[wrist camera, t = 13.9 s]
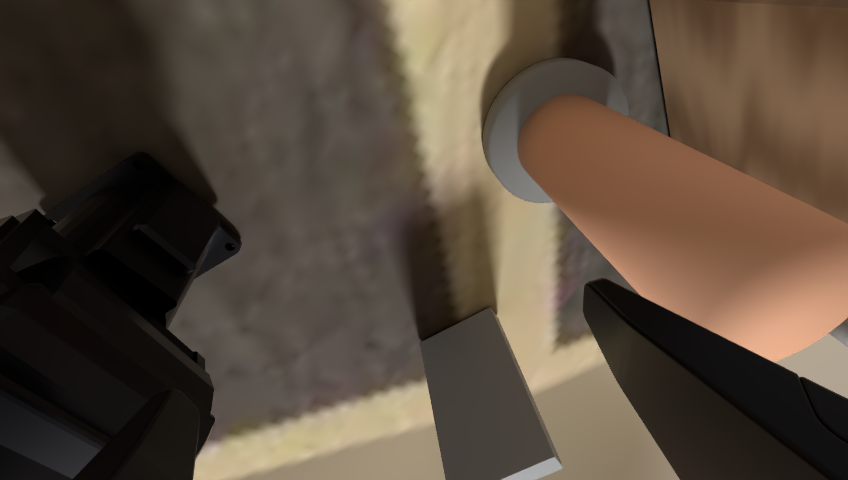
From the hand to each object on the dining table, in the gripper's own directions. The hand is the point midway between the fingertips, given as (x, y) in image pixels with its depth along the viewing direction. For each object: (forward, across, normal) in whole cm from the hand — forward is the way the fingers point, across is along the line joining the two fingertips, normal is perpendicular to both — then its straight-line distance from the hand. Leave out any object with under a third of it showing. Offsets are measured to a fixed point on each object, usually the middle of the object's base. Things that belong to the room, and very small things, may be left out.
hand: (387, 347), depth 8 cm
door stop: (+13, -9, +2) cm, 16 cm away
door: (+13, -17, +3) cm, 22 cm away
